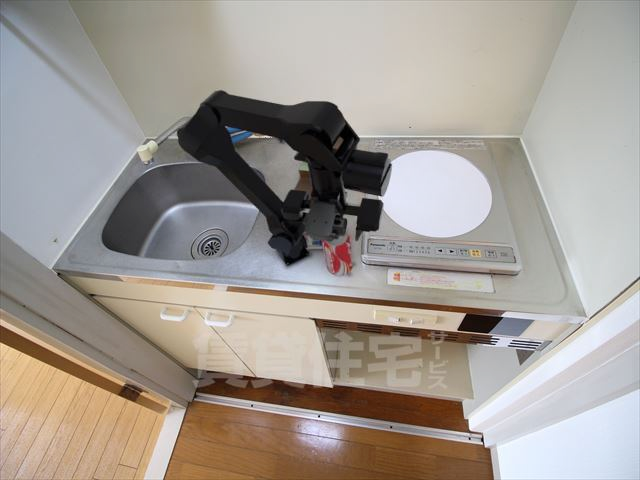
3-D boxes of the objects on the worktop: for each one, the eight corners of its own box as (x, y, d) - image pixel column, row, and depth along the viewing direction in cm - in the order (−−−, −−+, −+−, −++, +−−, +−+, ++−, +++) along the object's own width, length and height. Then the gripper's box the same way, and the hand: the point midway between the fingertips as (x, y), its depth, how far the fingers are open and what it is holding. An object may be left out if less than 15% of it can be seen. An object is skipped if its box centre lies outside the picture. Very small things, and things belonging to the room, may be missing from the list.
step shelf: (332, 206, 86) (329, 187, 81) (293, 201, 90) (287, 182, 84) (352, 153, 100) (350, 132, 94) (316, 150, 103) (313, 130, 97)
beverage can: (351, 278, 72) (348, 248, 62) (325, 276, 73) (318, 246, 64) (354, 256, 75) (352, 225, 66) (329, 254, 77) (324, 223, 67)
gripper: (260, 207, 51) (281, 260, 63) (373, 223, 46) (372, 276, 58) (283, 163, 57) (298, 219, 69) (385, 173, 52) (382, 231, 64)
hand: (335, 236), depth 65 cm, fingers open, 9 cm apart
